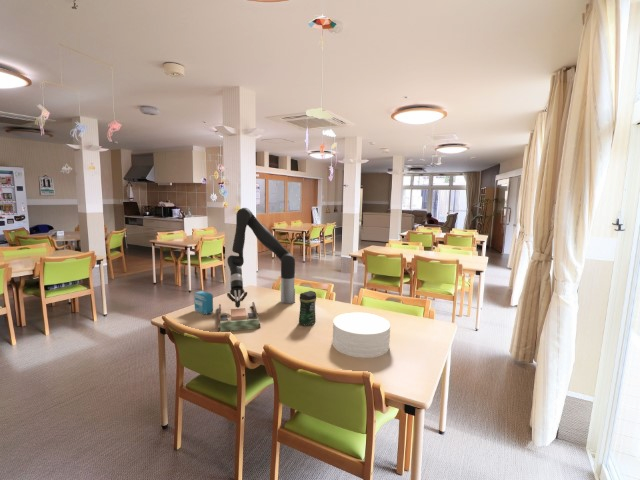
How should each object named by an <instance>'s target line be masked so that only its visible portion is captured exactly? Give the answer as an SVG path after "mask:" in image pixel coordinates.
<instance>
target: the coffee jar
mask: <svg viewBox="0 0 640 480" xmlns="http://www.w3.org/2000/svg"><path fill="white" fill-rule="evenodd" d="M316 300H317V293H316V292H315V291H313V290H309V291H305V292H301V293H300V294H299V303H300V304H299V305H300V306H299V315H298V316H299V317H298V323H299V324H300V325H301V326H311V325H313V324H315V323H316V321H317V320H316Z"/></svg>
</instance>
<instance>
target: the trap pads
mask: <svg viewBox="0 0 640 480" xmlns="http://www.w3.org/2000/svg"><path fill="white" fill-rule="evenodd" d="M228 317H229V316H228V314H221V321H229V320H228V319H229V318H228ZM247 317H248V319H256V317H255V313H254V312H247Z"/></svg>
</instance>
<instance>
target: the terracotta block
mask: <svg viewBox="0 0 640 480" xmlns="http://www.w3.org/2000/svg"><path fill="white" fill-rule="evenodd" d="M247 317H248V314H247V311H246V307H242V308H241V307H239V308H231V309H230V321H237V320H248V319H247Z"/></svg>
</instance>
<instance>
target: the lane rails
mask: <svg viewBox="0 0 640 480" xmlns="http://www.w3.org/2000/svg"><path fill="white" fill-rule="evenodd" d="M251 304H252V309H253V313H255V317H256V318H248V319H247V320H237V321H231V320H224V321H222V320H221V315H222V314H221V313H222V311H221V310H222V304H221V303H219V305H218V326H217V327H218V328H217V329H218V330H217V331H223V332H231V331H232V330H234V331H242V330H251V329H252V330H253V329H255V330H256V329H260V328H261V322H260V318H259V315H258V311H257V307H256V303H255V301H252V303H251ZM229 330H230V331H229Z"/></svg>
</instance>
